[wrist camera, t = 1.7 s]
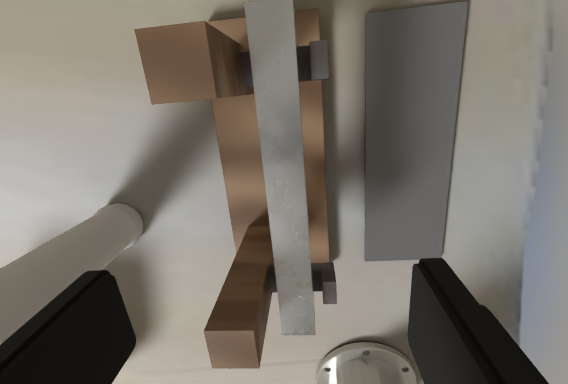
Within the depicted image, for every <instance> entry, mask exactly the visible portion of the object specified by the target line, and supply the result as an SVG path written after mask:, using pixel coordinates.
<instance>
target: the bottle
mask: <svg viewBox="0 0 568 384" xmlns="http://www.w3.org/2000/svg"><path fill="white" fill-rule="evenodd" d="M142 231H143V221H142V218H141V216H140V214H139V213H138V212H137V211H136V210H135V209H134V208H132V207H130V206H129V205H126V204H121V203H116V204H111V205H107V206H105V207H103V208H101V209H99V210H98V211H97V212H96V213H94V215H93V216H92V217H91V218H89V219H87V220H85V221H84V222H82V223H80V224H78V225H77V226H75V227H73V228H71V229H70V230H68V231H66V232H64V233H62V234H61V235H59V236H57V237H55V238H54V239H52V240H50V241H48V242H47V243H45V244H43V245H41V246H40V247H38V248H36V249H34V250H32V251H31V252H29V253H27V254H25V255H24V256H22V257H20V258H18V259H17V260H15V261H13V262H11V263H10V264H8V265H6V266H4V267H2V268H1V269H0V344H2V343H3V342H4V341H5V340H6V339H7V338H9V337H10V336H11V335H12V334H13V333H14V332H16V331H17V330H18V329H19V328H20V327H21V326H23V325H24V324H25V323H26V322H27V321H28V320H30V319H31V318H32V317H33V316H34V315H35V314H37V313H38V312H39V311H40V310H41V309H42V308H44V307H45V306H46V305H47V304H48V303H49V302H51V301H52V300H53V299H54V298H55V297H56V296H57V295H59V294H60V293H61V292H62V291H63V290H64V289H66V288H67V287H68V286H69V285H70V284H71V283H73V282H74V281H75V280H76V279H77V278H78V277H80V276H81V275H82V274H83V273H85V272H86V271H92V270H103V269H104V268H105V267H106V266H107V265H108V264H109V263H110V262H111V261H112V260H113V259H114V258H115V257H116V256H118V255H119V254H120V253H121V252H122V251H123V250H124V249H128V248H129V247H130V246H132V245H133V244H134V243H135V242H136V241H137V240H138V239H139V237H140V235H141V233H142Z"/></svg>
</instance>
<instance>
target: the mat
mask: <svg viewBox="0 0 568 384" xmlns="http://www.w3.org/2000/svg"><path fill="white" fill-rule="evenodd" d="M467 7H468V1H464V2H455V3H447V4H438V5H430V6H421V7H413V8H404V9H396V10H387V11H379V12H370V13H366V55H365V261H389V260H418V259H421V258H441V256H442V246H443V237H444V227H445V218H446V208H447V198H448V189H449V179H450V170H451V160H452V151H453V141H454V132H455V122H456V112H457V103H458V93H459V84H460V74H461V65H462V55H463V46H464V36H465V26H466V17H467Z"/></svg>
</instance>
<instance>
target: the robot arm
mask: <svg viewBox="0 0 568 384" xmlns="http://www.w3.org/2000/svg"><path fill="white" fill-rule="evenodd" d="M408 341H409V345H410V348H411V351H412V353H413V356H414V358H415V361H416V364H417V366H418V369H419V371H420V374H421V376H422V379H423V381H424V384H549V383H548V382H547V381H546V379H545V378H544V377H543V376H542V375H541V374H540V372H539V371H538V370H537V368H536V367H535V366H534V365H533V363H532V362H531V361H530V360H529V358H528V357H527V356H526V355H525V354H524V352H523V351H522V350H521V349H520V347H519V346H518V345H517V344H516V342H515V341H514V340H513V339H512V337H511V336H510V335H509V334H508V332H507V331H506V330H505V329H504V328H503V326H502V325H501V324H500V323H499V321H498V320H497V319H496V318H495V316H494V315H493V314H492V313H491V311H490V310H488V309H487V308H486V307H485V306H483V305H479V303H478V302H477V301H476V300H475V298H474V297H473V296H472V295H471V293H470V292H469V291H468V289H467V288H466V287H465V286H464V284H463V283H462V282H461V280H460V279H459V278H458V277H457V275H456V274H455V273H454V272H453V270H452V269H451V268H450V266H449V265H448V264H447V263H446V261H445V260H444V259H443V258H421V259H420V261H419V264H414V265H413V270H412V284H411V297H410V310H409V324H408ZM135 344H136V337H135V334H134V331H133V328H132V325H131V322H130V319H129V317H128V314H127V311H126V308H125V305H124V302H123V299H122V296H121V294H120V291H119V288H118V285H117V282H116V279H115V277H114V276H113V275H111V274H110V272H109V271H107V270H92V271H86V272H85V273H83V274H82V275H81V276H80V277H78V278H77V279H76V280H75V281H74V282H73V283H71V284H70V285H69V286H68V287H67V288H66V289H64V290H63V291H62V292H61V293H60V294H59V295H57V296H56V297H55V298H54V299H53V300H52V301H51V302H49V303H48V304H47V305H46V306H45V307H44V308H42V309H41V310H40V311H39V312H38V313H37V314H35V315H34V316H33V317H32V318H31V319H30V320H28V321H27V322H26V323H25V324H24V325H23V326H21V327H20V328H19V329H18V330H17V331H16V332H14V333H13V334H12V335H11V336H10V337H9V338H7V339H6V340H5V341H4V342H3V343H2V344H0V384H112V382H113V381H114V379H115V378H116V376H117V375H118V373H119V371H120V370H121V368H122V367H123V365H124V364H125V362H126V361H127V359H128V357H129V356H130V354H131V353H132V351H133V349H134V347H135ZM316 379H317V384H417V382H416V376H415V373H414V370H413V368H412V365H411V363H410V362H409V361H408V359H407V358H406V357H405V356H404V355H403V354H401V353H400V352H399V351H397V350H395V349H393V348H392V347H389V346H386V345H383V344H379V343H373V342H358V343H351V344H348V345H344V346H342V347H339V348H337V349H335V350H334V351H332V352H331V353H329V354H328V355H327V356H326V357H325V358H324V359H323V360H322V362H321V363H320V365H319V367H318V370H317V378H316Z"/></svg>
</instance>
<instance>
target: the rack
mask: <svg viewBox="0 0 568 384" xmlns="http://www.w3.org/2000/svg"><path fill="white" fill-rule="evenodd" d="M295 25H296V40H297V55H298V70H299V85H300V100H301V115H302V130H303V145H304V160H305V175H306V190H307V205H308V220H309V235H310V250H311V265H312V280H313V291H323V303H324V304H337V294H336V278H335V271H334V265H333V263H329V243H328V220H327V197H326V173H325V150H324V127H323V103H322V80H324V79H328V78H329V64H328V40H320V33H319V10H318V9H310V10H302V11H295ZM135 34H136V38H137V42H138V47H139V51H140V55H141V60H142V64H143V68H144V73H145V77H146V82H147V86H148V90H149V95H150V99H151V103H152V104H163V103H174V102H185V101H195V100H206V99H211V102H212V108H213V114H214V120H215V126H216V132H217V138H218V145H219V151H220V157H221V163H222V169H223V175H224V181H225V187H226V193H227V199H228V206H229V212H230V218H231V224H232V230H233V236H234V242H235V248H236V256H235V259H234V261H233V263H232V266H231V268H230V270H229V273H228V275H227V278H226V280H225V282H224V285H223V287H222V289H221V292H220V294H219V296H218V299H217V301H216V304H215V306H214V308H213V311H212V313H211V315H210V318H209V320H208V322H207V325H206V327H205V330H204V334H205V338H206V343H207V347H208V351H209V356H210V360H211V364H212V368H259V367H260V361H261V355H262V349H263V343H264V337H265V332H266V326H267V320H268V314H269V308H270V302H271V296H272V292H277V284H276V275H275V266H274V258H273V249H272V240H271V232H270V223H269V215H268V206H267V197H266V189H265V180H264V171H263V163H262V154H261V146H260V137H259V128H258V120H257V111H256V102H255V94H254V85H253V77H252V68H251V59H250V51H249V42H248V33H247V25H246V17H243V18H235V19H227V20H219V21H210V22H205V21H199V22H191V23H183V24H174V25H166V26H158V27H150V28H141V29H135Z"/></svg>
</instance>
